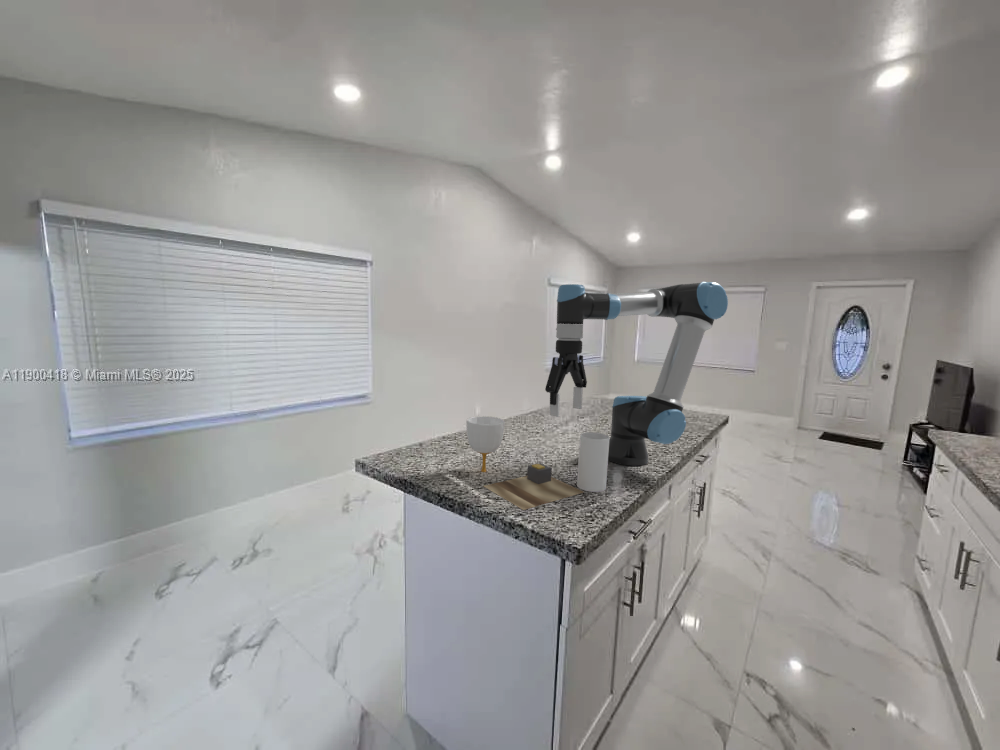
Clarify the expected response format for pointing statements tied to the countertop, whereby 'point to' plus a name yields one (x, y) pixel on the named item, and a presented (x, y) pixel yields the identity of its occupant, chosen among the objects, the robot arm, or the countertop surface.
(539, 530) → the countertop surface
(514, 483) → the panel
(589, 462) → the cup
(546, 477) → the dark grey box
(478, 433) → the cup
